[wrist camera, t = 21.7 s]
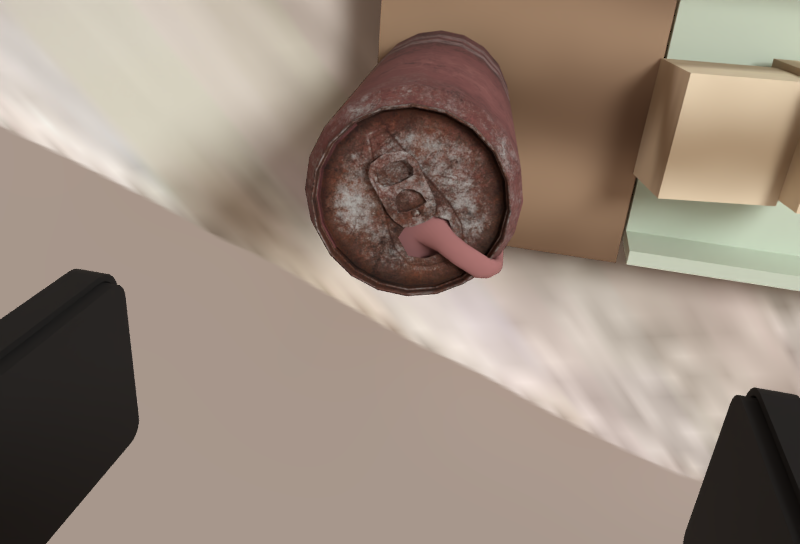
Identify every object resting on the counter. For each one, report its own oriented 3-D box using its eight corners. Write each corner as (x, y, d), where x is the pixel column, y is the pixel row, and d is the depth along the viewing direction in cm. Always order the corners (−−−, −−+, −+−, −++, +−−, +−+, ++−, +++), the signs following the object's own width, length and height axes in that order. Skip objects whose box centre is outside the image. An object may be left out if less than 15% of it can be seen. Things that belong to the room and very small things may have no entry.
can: (466, 194, 34) (456, 348, 21) (347, 124, 33) (261, 240, 20) (540, 79, 31) (580, 176, 18) (413, 1, 30) (363, 46, 18)
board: (402, -91, 32) (387, -93, 29) (681, -68, 30) (693, -67, 27) (381, 203, 38) (367, 224, 35) (612, 238, 36) (615, 262, 34)
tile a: (661, 58, 29) (690, 72, 27) (777, 67, 30) (818, 83, 27) (633, 173, 32) (657, 198, 29) (741, 181, 32) (776, 206, 29)
